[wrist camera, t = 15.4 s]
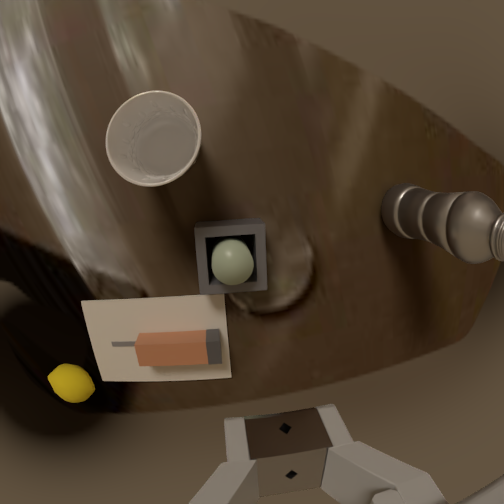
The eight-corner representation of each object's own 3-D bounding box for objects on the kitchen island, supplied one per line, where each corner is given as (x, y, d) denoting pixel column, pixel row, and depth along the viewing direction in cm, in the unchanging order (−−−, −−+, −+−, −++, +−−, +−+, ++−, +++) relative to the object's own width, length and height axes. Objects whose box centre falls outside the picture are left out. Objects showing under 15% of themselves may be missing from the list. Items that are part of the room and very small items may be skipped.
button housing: (201, 282, 37) (200, 295, 33) (196, 222, 35) (194, 228, 31) (261, 277, 38) (267, 289, 34) (259, 217, 36) (264, 223, 32)
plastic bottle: (388, 243, 39) (501, 299, 19) (365, 198, 37) (485, 227, 18) (423, 217, 38) (540, 253, 19) (403, 172, 37) (527, 183, 17)
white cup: (201, 185, 34) (196, 189, 25) (131, 181, 33) (101, 184, 24) (208, 114, 33) (206, 92, 23) (138, 111, 32) (111, 90, 22)
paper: (103, 379, 39) (102, 381, 38) (81, 300, 36) (80, 301, 36) (231, 376, 41) (231, 377, 40) (224, 292, 38) (224, 294, 37)
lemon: (99, 363, 39) (92, 387, 34) (96, 391, 40) (91, 415, 35) (52, 350, 37) (42, 372, 32) (53, 379, 38) (44, 402, 33)
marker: (143, 353, 38) (139, 367, 35) (139, 332, 37) (133, 345, 34) (221, 350, 39) (222, 363, 36) (219, 328, 38) (219, 341, 35)
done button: (213, 271, 36) (213, 286, 31) (210, 236, 35) (210, 246, 30) (249, 268, 36) (254, 283, 32) (247, 233, 35) (252, 243, 31)
